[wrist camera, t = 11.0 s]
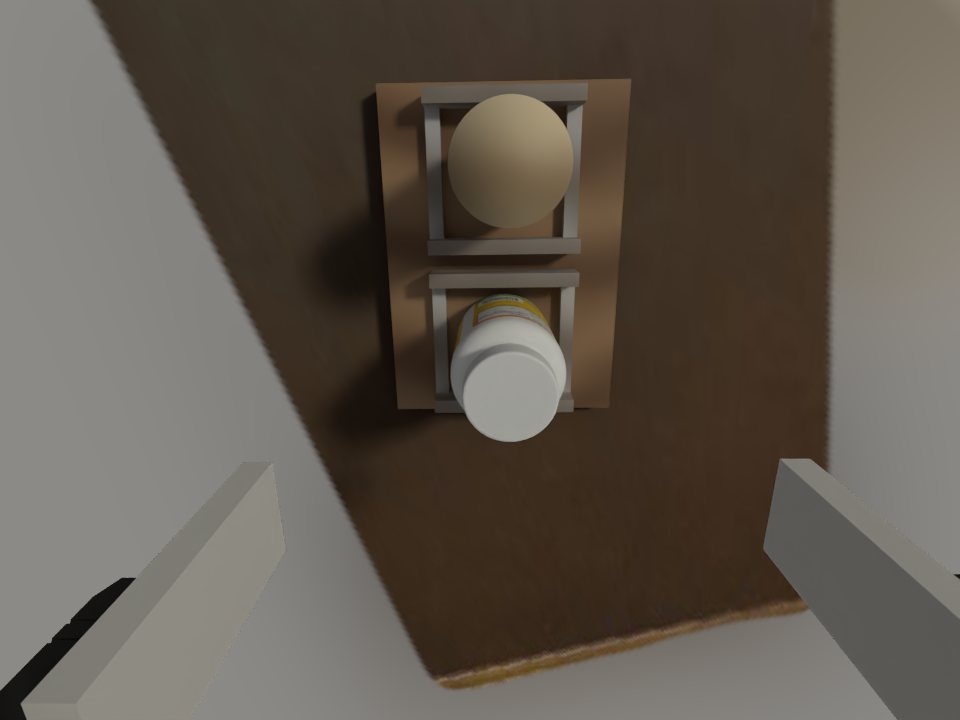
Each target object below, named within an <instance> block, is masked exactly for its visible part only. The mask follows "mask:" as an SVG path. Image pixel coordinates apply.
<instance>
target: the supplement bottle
mask: <svg viewBox="0 0 960 720" xmlns="http://www.w3.org/2000/svg"><path fill="white" fill-rule="evenodd" d="M450 377H451V385H452V389H453V392H454V395H455V397H456V399H457V401H458V402H459V404H460V406H461V407H462V408H463V409H464V411H465V413H466V416H467V417H468V419H469V421H470V422H471V424H472V425H473V426H474V427H475V428H476V429H477V430H478V431H480V432H481V433H482V434H484V435H486V436H487V437H489V438H492V439H495V440H499V441H505V442H515V441H521V440H525V439H528V438H530V437H532V436H534V435H536V434H538V433H539V432H541V431H542V430H543V429H544V428H545V427H546V426H547V425H548V424H549V423H550V422H551V420H552V419H553V417H554V415H555V413H556V410H557V407H558V403H559V400H560V398H561V396H562V393H563V391H564V387H565V383H566V364H565V359H564V356H563V353H562V351H561V349H560V347H559V344H558V343H557V341H556V339H555V337H554V335H553V333H552V331H551V329H550V327H549V325H548V323H547V321H546V319H545V318H544V316H543V314H542V313H541V312H540V310H539V309H538V308H537V307H536V306H535V305H534V304H533V303H531V302H530V301H528V300H527V299H525V298H522V297H519V296H516V295H512V294H496V295H492V296H488V297H486V298H484V299H482V300H480V301H478V302H477V303H475V304H474V305H473V306H472V307H471V308H470V309H469V310H468V311H467V312H466V314H465V315H464V317H463V319H462V321H461V324H460V326H459V330H458V334H457V339H456V344H455V348H454V353H453V357H452V362H451V373H450Z"/></svg>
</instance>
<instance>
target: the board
mask: <svg viewBox="0 0 960 720" xmlns="http://www.w3.org/2000/svg"><path fill="white" fill-rule="evenodd" d="M630 90H631V79H597V80H543V81H489V82H435V83H381V84H376V95H377V110H378V124H379V139H380V154H381V169H382V183H383V198H384V213H385V227H386V242H387V257H388V272H389V286H390V301H391V316H392V331H393V345H394V360H395V375H396V389H397V404H398V409H435V413H465V411H464V409H463V408H462V407H461V406H460V404H459V402H458V401H457V399H456V397H455V395H454V392H453V389H452V385H451V377H450V373H451V362H452V357H453V353H454V348H455V344H456V339H457V334H458V330H459V326H460V324H461V321H462V319H463V317H464V315H465V314H466V312H467V311H468V310H469V309H470V308H471V307H472V306H473V305H474V304H475V303H477V302H478V301H480V300H482V299H484V298H486V297H488V296H492V295H496V294H512V295H516V296H519V297H522V298H525V299H527V300H528V301H530V302H531V303H533V304H534V305H535V306H536V307H537V308H538V309H539V310H540V312H541V313H542V314H543V316H544V318H545V319H546V321H547V323H548V325H549V327H550V329H551V331H552V333H553V335H554V337H555V339H556V341H557V343H558V344H559V347H560V349H561V351H562V353H563V356H564V359H565V364H566V383H565V387H564V391H563V393H562V396H561V398H560V400H559V403H558V407H557V410H556V412H573V408H603V407H609V400H610V385H611V370H612V356H613V341H614V326H615V311H616V297H617V282H618V267H619V252H620V238H621V223H622V208H623V193H624V179H625V164H626V149H627V134H628V119H629V105H630ZM503 94H520V95H525V96H529V97H532V98H535V99H537V100H539V101H541V102H542V103H544V104H545V105H547V106H548V107H549V108H551V109H552V110H553V111H554V112H555V113H556V114H557V116H558V117H559V118H560V119H561V121H562V122H563V124H564V126H565V127H566V129H567V132H568V134H569V136H570V140H571V144H572V149H573V172H572V176H571V180H570V183H569V186H568V189H567V191H566V193H565V195H564V196H563V198H562V199H561V201H560V202H559V204H558V205H557V206H556V207H555V208H554V209H553V210H552V211H551V212H550V213H549V214H548V215H547V216H545V217H544V218H542V219H541V220H539V221H537V222H535V223H533V224H530V225H528V226H524V227H519V228H500V227H494V226H491V225H489V224H486V223H484V222H482V221H480V220H478V219H477V218H475V217H474V216H473V215H471V214H470V213H469V212H468V211H467V210H466V209H465V208H464V207H463V205H462V204H461V203H460V201H459V200H458V198H457V196H456V194H455V192H454V190H453V188H452V185H451V182H450V178H449V173H448V153H449V146H450V143H451V139H452V137H453V134H454V132H455V130H456V128H457V126H458V125H459V123H460V122H461V120H462V119H463V118H464V116H465V115H466V114H467V113H468V112H469V111H470V110H471V109H472V108H474V107H475V106H476V105H478V104H479V103H481V102H483V101H485V100H486V99H489V98H492V97H494V96H498V95H503Z"/></svg>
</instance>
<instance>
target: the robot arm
mask: <svg viewBox="0 0 960 720" xmlns="http://www.w3.org/2000/svg"><path fill="white" fill-rule="evenodd" d="M763 550H764V551H765V552H766V553H767V555H768V556H769V557H770V558H771V560H772V561H773V562H774V564H775V565H776V566H777V567H778V569H779V570H780V571H781V572H782V574H783V575H784V576H785V578H786V579H787V580H788V581H789V583H790V584H791V585H792V586H793V588H794V589H795V590H796V592H797V593H798V594H799V595H800V597H801V598H802V599H803V600H804V602H805V603H806V604H807V606H808V607H809V608H810V609H811V611H812V612H813V613H814V614H815V615H816V617H817V618H818V619H819V621H820V622H821V623H822V625H823V626H824V627H825V628H826V630H827V631H828V632H829V633H830V635H831V636H832V637H833V639H834V640H835V641H836V642H837V644H838V645H839V646H840V647H841V649H842V650H843V651H844V652H845V654H846V655H847V656H848V658H849V659H850V660H851V661H852V663H853V664H854V665H855V666H856V668H857V669H858V670H859V671H860V673H861V674H862V675H863V677H864V678H865V679H866V680H867V682H868V683H869V684H870V686H871V687H872V688H873V689H874V691H875V692H876V693H877V694H878V696H879V697H880V698H881V699H882V701H883V702H884V703H885V705H886V706H887V707H888V708H889V710H890V711H891V712H892V713H893V715H894V716H895V717H896V719H897V720H960V574H952V573H951V572H950V571H948V570H947V569H946V568H945V567H943V566H942V565H941V564H940V563H938V562H937V561H936V560H935V559H933V558H932V557H931V556H930V555H929V554H927V553H926V552H925V551H924V550H922V549H921V548H920V547H919V546H917V545H916V544H915V543H914V542H912V541H911V540H910V539H909V538H908V537H906V536H905V535H904V534H902V533H901V532H900V531H899V530H897V529H896V528H895V527H894V526H893V525H891V524H890V523H889V522H888V521H886V520H885V519H884V518H882V517H881V516H880V515H879V514H878V513H877V512H875V511H874V510H873V509H872V508H870V507H869V506H868V505H867V504H865V503H864V502H863V501H862V500H860V499H859V498H858V497H857V496H855V495H854V494H853V493H852V492H850V491H849V490H848V489H847V488H845V487H844V486H843V485H842V484H841V483H839V482H838V481H837V480H836V479H834V478H833V477H832V476H831V475H829V474H828V473H827V472H826V471H824V470H823V469H822V468H821V467H819V466H818V465H817V464H816V463H815V462H813V461H812V460H811V459H780V461H779V466H778V471H777V477H776V482H775V487H774V493H773V498H772V504H771V509H770V514H769V520H768V525H767V530H766V536H765V541H764V546H763ZM285 551H286V546H285V539H284V533H283V527H282V520H281V514H280V508H279V501H278V495H277V488H276V482H275V475H274V469H273V463H272V462H243V463H242V464H241V465H240V466H239V467H238V468H237V470H236V471H235V472H234V473H233V474H232V475H231V476H230V477H229V478H228V479H227V481H225V483H224V484H223V485H222V486H221V487H220V488H219V489H218V490H217V491H216V493H214V494H213V496H212V497H211V498H210V499H209V500H208V501H207V502H206V503H205V504H204V505H203V506H202V507H201V509H200V510H199V511H198V512H197V513H196V514H195V515H194V516H193V517H192V518H191V519H190V521H189V522H188V523H187V524H186V525H185V526H184V527H183V528H182V529H181V530H180V531H179V533H177V535H176V536H175V537H174V538H173V539H172V540H171V541H170V542H169V543H168V544H167V545H166V547H165V548H164V549H163V550H162V551H161V552H160V553H159V554H158V555H157V556H156V558H154V559H153V561H152V562H151V563H150V564H149V565H148V566H147V567H146V568H145V569H144V570H143V572H141V574H140V575H139V576H138V577H137V578H121V579H119V580H118V581H117V582H115V583H113V584H112V585H110V586H109V587H107V588H106V589H104V590H103V591H101V592H100V593H98V594H97V595H95V596H94V597H92V598H91V599H90V601H89V602H88V603H87V604H86V605H85V606H84V607H83V608H82V609H81V610H80V611H79V612H78V613H77V614H76V615H75V616H74V617H73V618H72V619H71V622H70V624H66V625H65V626H64V627H63V628H62V629H61V630H60V631H59V632H58V633H57V634H56V635H55V636H54V637H53V638H52V642H51V643H47V644H46V645H45V646H44V647H43V648H42V649H41V650H40V651H39V652H38V653H37V654H36V655H35V656H34V657H33V658H32V659H31V660H30V661H29V662H28V663H27V664H26V665H25V666H24V667H23V668H22V669H21V670H20V671H19V672H18V673H17V674H16V676H15V677H14V678H12V680H10V682H9V683H8V684H7V685H6V686H5V687H4V688H3V689H2V690H1V691H0V720H190V718H191V716H192V715H193V713H194V711H195V710H196V708H197V706H198V704H199V702H200V700H201V699H202V697H203V695H204V694H205V692H206V690H207V688H208V687H209V685H210V683H211V681H212V680H213V678H214V676H215V674H216V673H217V671H218V669H219V667H220V665H221V664H222V662H223V660H224V659H225V657H226V655H227V653H228V652H229V650H230V648H231V646H232V645H233V643H234V641H235V639H236V638H237V636H238V634H239V632H240V630H241V629H242V627H243V625H244V624H245V622H246V620H247V618H248V617H249V615H250V613H251V611H252V610H253V608H254V606H255V604H256V603H257V601H258V599H259V597H260V595H261V594H262V592H263V590H264V588H265V587H266V585H267V583H268V581H269V580H270V578H271V576H272V574H273V573H274V571H275V569H276V567H277V566H278V564H279V562H280V560H281V559H282V557H283V555H284V553H285Z"/></svg>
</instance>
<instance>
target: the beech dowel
mask: <svg viewBox="0 0 960 720" xmlns="http://www.w3.org/2000/svg"><path fill="white" fill-rule="evenodd" d="M572 172H573V149H572V144H571V140H570V136H569V134H568V132H567V129H566V127H565V126H564V124H563V122H562V121H561V119H560V118H559V117H558V116H557V114H556V113H555V112H554V111H553V110H552V109H551V108H549V107H548V106H547V105H545V104H544V103H542V102H541V101H539V100H537V99H535V98H532V97H529V96H525V95H520V94H503V95H498V96H494V97H492V98H489V99H486V100H485V101H483V102H481V103H479V104H478V105H476V106H475V107H474V108H472V109H471V110H470V111H469V112H468V113H467V114H466V115H465V116H464V118H463V119H462V120H461V122H460V123H459V125H458V126H457V128H456V130H455V132H454V134H453V137H452V139H451V143H450V146H449V153H448V173H449V178H450V182H451V185H452V188H453V190H454V192H455V194H456V196H457V198H458V200H459V201H460V203H461V204H462V205H463V207H464V208H465V209H466V210H467V211H468V212H469V213H470V214H471V215H473V216H474V217H475V218H477V219H478V220H480V221H482V222H484V223H486V224H489V225H491V226H494V227H500V228H519V227H524V226H528V225H530V224H533V223H535V222H537V221H539V220H541V219H542V218H544V217H545V216H547V215H548V214H549V213H550V212H551V211H552V210H553V209H554V208H555V207H556V206H557V205H558V204H559V202H560V201H561V199H562V198H563V196H564V195H565V193H566V191H567V189H568V186H569V183H570V180H571V176H572Z"/></svg>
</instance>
